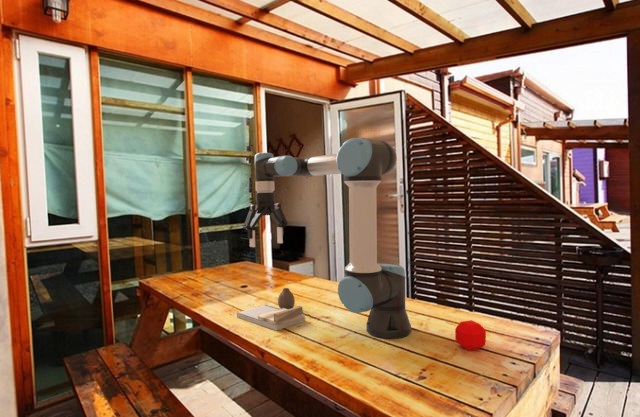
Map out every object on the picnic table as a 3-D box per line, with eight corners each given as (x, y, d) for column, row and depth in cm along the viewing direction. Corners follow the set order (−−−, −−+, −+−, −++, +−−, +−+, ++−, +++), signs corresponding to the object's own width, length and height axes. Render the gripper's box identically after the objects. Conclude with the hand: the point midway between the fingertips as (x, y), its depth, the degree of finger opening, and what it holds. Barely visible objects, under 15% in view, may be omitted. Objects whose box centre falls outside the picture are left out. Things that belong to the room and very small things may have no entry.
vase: (292, 312, 159) (291, 291, 159) (276, 311, 161) (275, 290, 160) (296, 307, 166) (296, 286, 166) (281, 306, 167) (280, 286, 167)
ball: (490, 350, 117) (490, 325, 117) (467, 354, 115) (467, 328, 115) (473, 341, 125) (472, 317, 125) (451, 344, 123) (451, 320, 123)
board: (304, 320, 149) (304, 315, 148) (276, 330, 138) (276, 325, 138) (264, 308, 165) (264, 304, 165) (236, 316, 155) (236, 312, 155)
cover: (302, 316, 148) (302, 306, 148) (276, 325, 139) (276, 314, 139) (283, 310, 156) (283, 301, 156) (257, 318, 147) (257, 308, 147)
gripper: (283, 191, 169) (285, 241, 170) (232, 192, 152) (234, 247, 152) (295, 191, 163) (296, 242, 164) (243, 192, 146) (245, 249, 147)
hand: (266, 245), depth 158 cm, fingers open, 13 cm apart
